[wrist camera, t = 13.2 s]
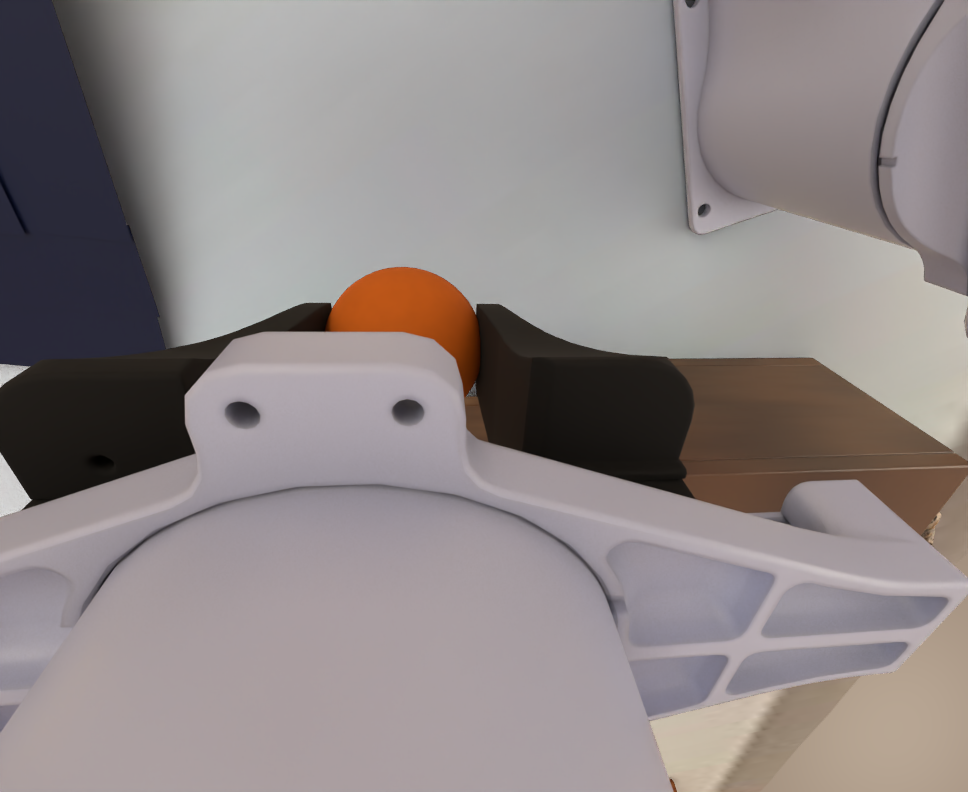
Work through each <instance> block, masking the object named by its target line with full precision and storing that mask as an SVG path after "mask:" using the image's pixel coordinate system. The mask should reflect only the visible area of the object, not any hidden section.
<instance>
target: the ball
mask: <svg viewBox="0 0 968 792" xmlns="http://www.w3.org/2000/svg"><path fill="white" fill-rule="evenodd" d="M325 332H406V333H410V334H414V335H418V336H422V337H426V338H430V339H434V340H435V341H436V342H437V343H438V344H439V345H440V346H442V347H443V348H444V349H445V350H446V351H447V352H448V353H449V354H451V355H452V356H453V357H454V358H455V359H456V363H457V366H458V370H459V373H460V377H461V380H462V383H463V393H464V398H465V397H466V395H467V394H468V393H469V391H470V390H471V388H472V386H473V385H474V383H475V381H476V379H477V376H478V373H479V369H480V333H479V323H478V319H477V317H476V314H475V312H474V310H473V308H472V307H471V305H470V303H469V302H468V301H467V299H466V298H465V297H464V296H463V294H462V293H461V292H460V291H459V290H458V289H457V288H456V287H454V286H453V285H452V284H451V283H449V282H448V281H447V280H445V279H443V278H441V277H440V276H438V275H436V274H433V273H431V272H428V271H425V270H421V269H417V268H410V267H393V268H386V269H382V270H379V271H375V272H373V273H371V274H368V275H366V276H364V277H363V278H361V279H359V280H358V281H356V282H355V283H353V284H352V285H351V286H350V287H349V288H347V289H346V291H345V292H344V293H343V294H342V295H341V296H340V298H339V299H338V300H337V302H336V303H335V305H334V306H333V308H332V310H331V312H330V315H329V317H328V320H327V324H326V328H325Z"/></svg>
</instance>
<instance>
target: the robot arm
mask: <svg viewBox="0 0 968 792" xmlns="http://www.w3.org/2000/svg"><path fill="white" fill-rule="evenodd" d="M673 4H674V18H675V32H676V47H677V61H678V75H679V90H680V104H681V119H682V133H683V147H684V162H685V176H686V190H687V205H688V219H689V227H690V229H691V230H692V231H693V232H694V233H696V234H700V235H701V234H706V233H709V232H712V231H715V230H718V229H721V228H724V227H727V226H730V225H733V224H736V223H739V222H742V221H745V220H748V219H751V218H754V217H757V216H760V215H763V214H766V213H769V212H772V211H775V210H777V209H780V210H783V211H786V212H790V213H793V214H796V215H800V216H803V217H806V218H810V219H813V220H816V221H820V222H823V223H826V224H830V225H833V226H837V227H840V228H843V229H847V230H850V231H853V232H857V233H860V234H863V235H867V236H870V237H873V238H877V239H880V240H884V241H887V242H890V243H894V244H897V245H900V246H904V247H907V248H910V249H914V250H917V251H918V253H919V254H920V256H921V258H922V260H923V264H924V280H925V281H926V282H929V283H932V284H935V285H938V286H940V287H943V288H946V289H949V290H952V291H954V292H957V293H960V294H963V295H966V296H968V0H695V2H694V4H693V6H692V7H691V8H689V7H688V6H687V5H686V2H685V0H673ZM703 204H705V206H706V208H705V211H704V212H703V213H702V214H701V215H698V209H699V207H700V206H701V205H703ZM331 310H332V307H331V303H304V304H300V305H298V306H295V307H292V308H290V309H288V310H286V311H283V312H281V313H279V314H277V315H274V316H272V317H270V318H268V319H265V320H263V321H261V322H258V323H256V324H253V325H251V326H248V327H246V328H243V329H241V330H238V331H236V332H233V333H230V334H227V335H224V336H221V337H217V338H214V339H210V340H207V341H203V342H199V343H195V344H190V345H185V346H180V347H175V348H171V349H166V350H160V351H154V352H147V353H140V354H131V355H122V356H112V357H100V358H80V359H45V360H40V361H39V362H37V363H36V364H34V365H33V366H31V367H30V368H28V369H26V370H25V371H23V372H22V373H20V374H19V375H17V376H16V377H14V378H13V379H11V380H9V381H8V382H6V383H5V384H4V385H3V386H2V387H1V388H0V452H1V454H2V456H3V457H4V459H5V460H6V462H7V463H8V465H9V466H10V468H11V469H12V471H13V473H14V474H15V476H16V477H17V479H18V480H19V482H20V483H21V485H22V486H23V488H24V490H25V491H26V493H27V494H28V496H29V497H30V499H33V500H32V501H31V502H30V503H28V504H27V505H26V506H25V507H24V508H23V509H22V510H21V511H18V512H15V513H12V514H9V515H6V516H3V517H0V792H674V791H673V788H672V785H671V783H670V780H669V777H668V774H667V771H666V768H665V765H664V762H663V760H662V757H661V754H660V751H659V748H658V745H657V742H656V739H655V737H654V734H653V731H652V728H651V725H650V722H649V721H652V720H656V719H660V718H665V717H669V716H673V715H677V714H681V713H685V712H689V711H693V710H697V709H701V708H705V707H709V706H713V705H717V704H721V703H726V702H730V701H734V700H738V699H742V698H746V697H750V696H754V695H758V694H762V693H767V692H771V691H776V690H780V689H785V688H790V687H794V686H799V685H803V684H809V683H815V682H821V681H827V680H833V679H839V678H846V677H855V676H864V675H873V674H882V673H892V672H895V671H896V670H897V669H898V668H899V667H900V666H901V665H902V664H903V663H904V662H905V661H906V660H907V659H908V658H909V657H910V656H911V654H913V652H914V651H915V650H916V649H917V648H918V647H919V646H920V645H921V644H922V643H923V642H924V641H925V640H926V639H927V638H928V637H929V636H930V635H931V633H932V632H933V631H934V630H935V629H936V628H937V627H938V626H939V625H940V624H941V623H942V622H943V621H944V620H945V619H946V618H947V617H948V616H949V614H950V613H951V612H952V611H953V610H954V609H955V608H956V607H957V606H958V605H959V604H960V603H961V602H962V601H963V600H964V599H965V598H966V597H967V595H968V577H966V576H965V575H964V574H963V573H962V572H961V571H960V570H959V569H957V568H956V567H955V566H954V565H953V564H952V563H951V562H950V561H948V560H947V559H946V558H945V557H944V556H943V555H942V554H941V553H939V552H938V551H937V550H936V549H935V548H934V547H933V546H931V545H930V544H929V543H928V542H927V541H926V540H925V539H924V538H922V537H921V536H920V535H919V534H918V533H917V532H916V531H915V530H913V529H912V528H911V527H910V526H909V525H908V524H907V523H906V522H904V521H903V520H902V519H901V518H900V517H899V516H898V515H896V514H895V513H894V512H893V511H892V510H891V509H890V508H889V507H887V506H886V505H885V504H884V503H883V502H882V501H881V500H880V499H878V498H877V497H876V496H875V495H874V494H873V493H872V492H871V491H869V490H868V489H867V488H866V487H865V486H864V485H863V484H861V483H860V482H859V481H858V480H826V481H808V482H803V483H800V484H798V485H796V486H795V487H793V488H792V489H791V490H790V491H789V493H788V494H787V496H786V498H785V500H784V502H783V505H782V508H781V511H780V512H764V513H743V512H740V511H736V510H733V509H729V508H725V507H722V506H718V505H714V504H711V503H707V502H703V501H700V500H696V499H695V497H694V496H693V494H692V493H691V491H690V490H689V488H688V487H687V485H686V484H685V482H684V481H683V479H685V478H686V475H687V469H686V468H685V466H684V465H683V463H682V462H681V460H680V459H679V457H680V454H681V451H682V448H683V445H684V442H685V439H686V436H687V433H688V430H689V428H690V425H691V422H692V418H693V412H694V407H695V402H694V395H693V390H692V388H691V386H690V384H689V383H688V381H687V379H686V378H685V376H684V375H683V374H682V373H681V372H680V371H679V370H678V369H677V368H676V367H675V365H674V364H673V363H672V362H671V361H670V360H669V359H668V358H667V357H657V356H638V355H626V354H619V353H612V352H606V351H601V350H596V349H592V348H588V347H584V346H580V345H577V344H574V343H570V342H568V341H565V340H563V339H560V338H557V337H555V336H553V335H550V334H548V333H546V332H544V331H542V330H540V329H539V328H537V327H535V326H533V325H531V324H530V323H528V322H526V321H525V320H523V319H522V318H520V317H519V316H517V315H516V314H514V313H513V312H511V311H510V310H508V309H507V308H505V307H503V306H502V305H499V304H477V307H476V317H477V319H478V323H479V333H480V369H479V373H478V376H477V379H476V392H477V397H478V401H479V405H480V410H481V414H482V418H483V422H484V426H485V430H486V434H487V438H488V442H485V441H482V440H478V439H477V438H476V437H475V436H473V435H472V434H471V433H470V432H469V431H468V430H467V428H466V413H465V403H464V393H463V383H462V380H461V377H460V373H459V370H458V366H457V363H456V359H455V358H454V357H453V356H452V355H451V354H449V353H448V352H447V351H446V350H445V349H444V348H443V347H442V346H440V345H439V344H438V343H437V342H436V341H435V340H434V339H430V338H426V337H422V336H418V335H414V334H410V333H406V332H325V328H326V324H327V320H328V317H329V315H330V312H331ZM964 322H965V330H966V335H967V338H968V308H967V312H966V316H965V320H964Z"/></svg>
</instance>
